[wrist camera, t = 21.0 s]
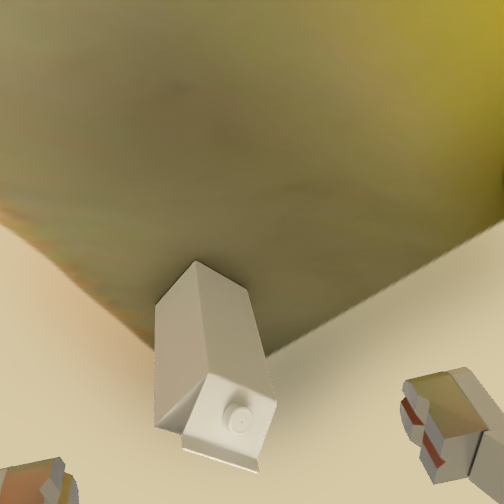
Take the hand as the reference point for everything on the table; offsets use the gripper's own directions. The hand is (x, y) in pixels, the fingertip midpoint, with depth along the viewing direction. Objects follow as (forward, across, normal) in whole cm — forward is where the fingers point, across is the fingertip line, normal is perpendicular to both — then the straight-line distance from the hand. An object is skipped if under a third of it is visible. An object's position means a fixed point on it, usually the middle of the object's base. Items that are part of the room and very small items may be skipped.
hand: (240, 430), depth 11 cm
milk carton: (+31, +2, +21) cm, 38 cm away
